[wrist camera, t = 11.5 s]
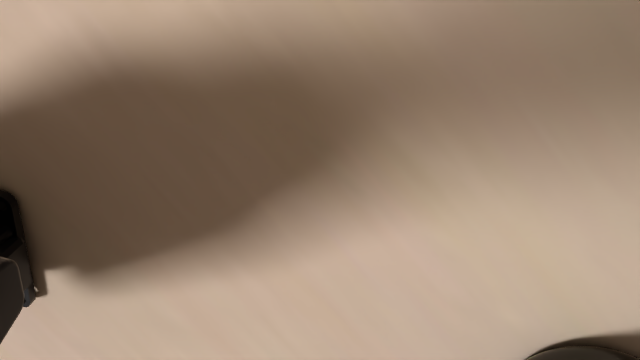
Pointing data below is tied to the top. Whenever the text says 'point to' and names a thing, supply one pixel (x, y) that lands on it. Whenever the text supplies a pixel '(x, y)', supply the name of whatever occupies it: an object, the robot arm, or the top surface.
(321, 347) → the top surface
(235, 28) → the top surface
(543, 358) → the supplement bottle
